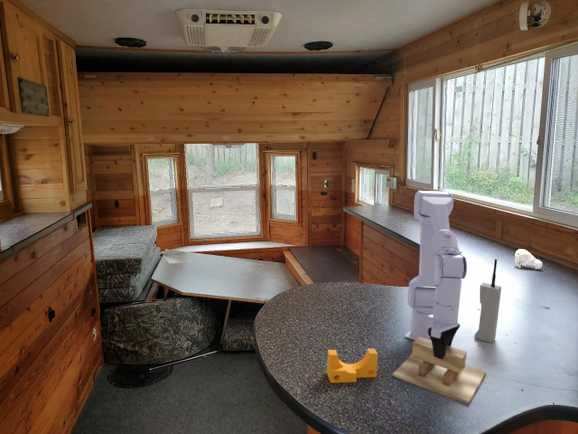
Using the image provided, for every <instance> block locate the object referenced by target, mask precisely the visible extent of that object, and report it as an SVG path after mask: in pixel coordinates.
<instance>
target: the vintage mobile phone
mask: <svg viewBox="0 0 578 434" xmlns="http://www.w3.org/2000/svg"><path fill="white" fill-rule="evenodd" d="M497 263H498V259H497V258H495V259H494V263H493V272H492V277H491V278H492V279H491V283H487V282H483V283H481V284H480V286H479V303H480V306H481V307H480V314H479V323H478V329H477V331H476V332H475V333H474V339H476V340H479V341H483V342H486V343H490V344H493V342H494V341H495V340H496V334H497V329H498V328H497V327H498V317H499V310H500V302H501V301H500V300H501V294H502V287H501V286H500V285H496V278H497V277H496V270H497Z"/></svg>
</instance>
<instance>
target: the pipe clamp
mask: <svg viewBox="0 0 578 434" xmlns="http://www.w3.org/2000/svg"><path fill="white" fill-rule="evenodd" d="M338 356H339V355H338V353H337V350H336V349H327V358H326V359H327V362H326V363H327V365H326V374H327V377H328V379H329V383H330V384H332V383H333V384H334V383H335V384H336V383H337V384H339V383H357V378H377V373H378V372H377V370H378V358H379V357H378V356H379V353H378V352H377V349H375V348H373V347H372V348H366V353H365V355H364V356H363V357H362V359H361V360H359V361H357V362H355V363H345V362H343V361H341V360H340V359H339V357H338Z"/></svg>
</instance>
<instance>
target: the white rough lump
mask: <svg viewBox="0 0 578 434" xmlns="http://www.w3.org/2000/svg"><path fill="white" fill-rule="evenodd" d="M514 262H515V265H516V267H518V268H519V269H522V266H531V267H534V270H537V269H538V270H540V269H541V268H542V267H543V262H542V261H541V260H540V259H537V258H536V257H535V256H534V255H532V253H531V252H529V251H528V250H527V249H523V248H522V249H521V248H519V249H517V250H516V251H515V254H514ZM521 265H522V266H521Z"/></svg>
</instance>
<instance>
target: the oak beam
mask: <svg viewBox="0 0 578 434" xmlns="http://www.w3.org/2000/svg"><path fill="white" fill-rule="evenodd" d="M412 343H413V345H412V353H411V355H412V357H414V358H417V359H420V360H423V361H426V362H429V363H431V364H434V365H437V366H440V367H443V368H446V369H449V370H452V371H455V372H457V373H460V374H461V372H462V371H463V369H464V367H465V365H466V361H467V354H468V352H467V351H466V350H463V349H460V348H457V347H456V348H455V347H453V346H451V347H450V346H447V349H446V353H445V356H444V358H443V359H439V358H436V357H434V352H433V346H432V342H431V340H428V339H425V338H422V337H418V338H417V339H416V340H413V342H412Z"/></svg>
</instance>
